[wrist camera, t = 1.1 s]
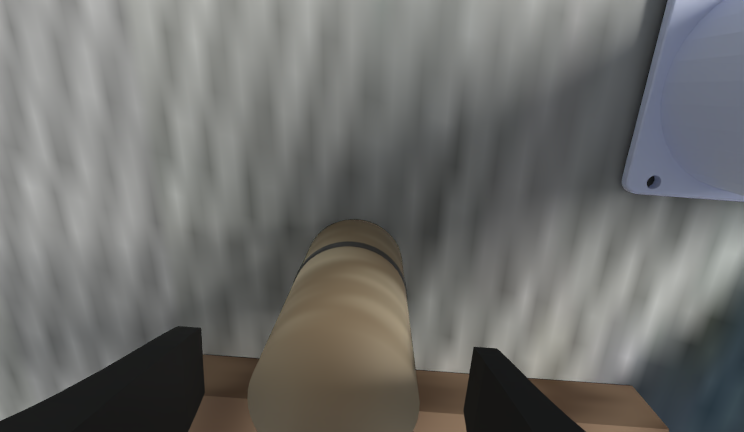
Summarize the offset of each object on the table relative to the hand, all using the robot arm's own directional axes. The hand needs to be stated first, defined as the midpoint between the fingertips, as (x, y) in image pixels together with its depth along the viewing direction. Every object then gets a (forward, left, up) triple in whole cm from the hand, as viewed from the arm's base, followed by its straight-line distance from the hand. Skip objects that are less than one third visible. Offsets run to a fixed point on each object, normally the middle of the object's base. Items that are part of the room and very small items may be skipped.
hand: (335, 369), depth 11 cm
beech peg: (0, 0, -7) cm, 7 cm away
